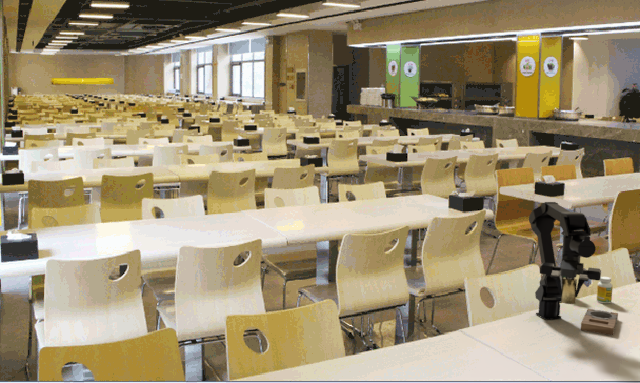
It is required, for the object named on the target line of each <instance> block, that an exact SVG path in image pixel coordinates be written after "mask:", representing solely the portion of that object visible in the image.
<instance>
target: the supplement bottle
mask: <svg viewBox="0 0 640 383" xmlns="http://www.w3.org/2000/svg"><path fill="white" fill-rule="evenodd" d="M612 300H613V284H612V277H608V276H601V278H600V280H599V282H597V287H596V302H597V301H598V302H597V303H599V302H600V304H603V303H610V304H611V303H612Z"/></svg>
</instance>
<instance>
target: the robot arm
mask: <svg viewBox="0 0 640 383" xmlns="http://www.w3.org/2000/svg"><path fill="white" fill-rule="evenodd" d="M528 221H529V222H528V223H529V224H530V229H531V230H532V232H533V233H534V234H535V235H536V236H537V237H536V238H537V243H538V249H539V257H540V261H541V262H540V263H541V265H540V267H539V274H541V278H540V280H539V286H538V287H537V289H536V291H535V299H536V300H538V302H539V303H538V312H535V315H536V314H537V315H536V316H538V315H539V316H538V317H540V316H541V319H544V320H546V319H549V320H555V319H556V320H559V319H562V316H560V313H561V310H560V309H561V304H560V303H561V297H562V282H563V278H564V277H571V278H575V279H577V276H579V277H578V279H577V285H576V298H578V296H579V293H580V291H581V288H582V287H583V285H584V283H585V282H589V280H591V281H600V278H601V277H602V270H601V268H598V267H587V268H588V269H584V267H585V266H584V262H583V263H582V262H581V258H586V259H587V258H588V259H589V258H590V257H593V255H594V254H595V252H596V247H597V246H596V245H595V243H594V241H592V240H591V235H592V234H591V228H590V225H589V222H588V219H587V217H586V215H585V214H584V213H582V212H577V211H570V210H568V209H567V208H565V207H564V206H562V205H560V204H559V203H558V202H556V201H544V202H542V203H541V205H539V206H538V207H536V208H534V209H533V210H532V211H531V212H530V214H529V216H528ZM556 221H557V222H559V226H560V227H561V230H562V231H561V235H562V236H563V238H562V251H561V252H562V253H561V261H560V265H559V266H557V264H556V263H557V262H556V258H555V250H554V244H553V239H552V232H553V229H554V227H555V222H556Z"/></svg>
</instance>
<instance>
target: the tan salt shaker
mask: <svg viewBox="0 0 640 383" xmlns="http://www.w3.org/2000/svg"><path fill="white" fill-rule="evenodd" d="M577 285H578V279H577V278H571V277H564V278H563V282H562V297H561V301H560V303H562V304H566V305H575V304H576V290H577Z"/></svg>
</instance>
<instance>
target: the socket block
mask: <svg viewBox="0 0 640 383" xmlns="http://www.w3.org/2000/svg"><path fill="white" fill-rule="evenodd" d="M618 319H619V313H618V312H613V311H606V310H602V309H601V310H600V309H595V308H594V309H593V308H587V309H586V311H585V314H584V316H583V318H582V320H581V323H580V331H584V332H589V333H596V334H602V335H609V336H614V334H615V330H616V326H617V324H618V323H617V322H618Z"/></svg>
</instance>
